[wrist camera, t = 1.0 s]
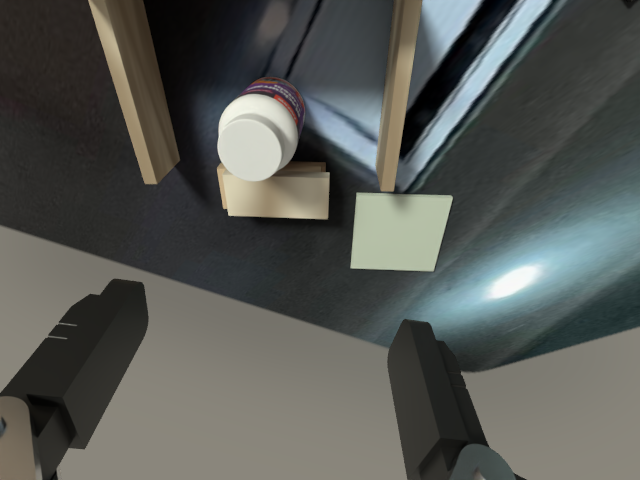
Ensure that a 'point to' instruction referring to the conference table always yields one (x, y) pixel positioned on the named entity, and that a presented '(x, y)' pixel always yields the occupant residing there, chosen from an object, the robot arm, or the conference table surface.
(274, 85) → the pill bottle
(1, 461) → the robot arm
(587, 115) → the conference table surface
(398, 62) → the enclosure
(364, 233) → the sage mat
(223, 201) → the offcut stack
